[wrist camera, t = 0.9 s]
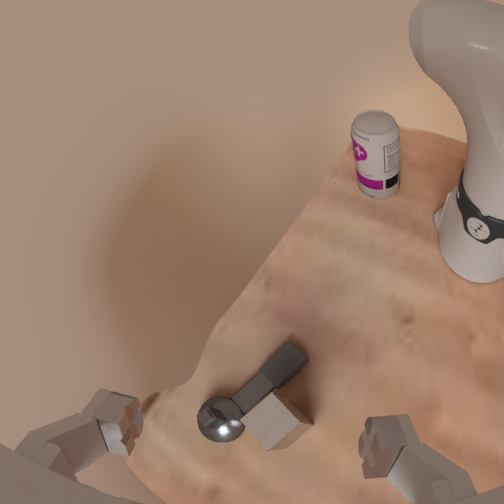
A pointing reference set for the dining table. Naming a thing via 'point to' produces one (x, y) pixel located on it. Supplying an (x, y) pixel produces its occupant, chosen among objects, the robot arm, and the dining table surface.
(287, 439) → the tall grey pillar block
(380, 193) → the supplement can
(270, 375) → the ratchet
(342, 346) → the dining table surface
